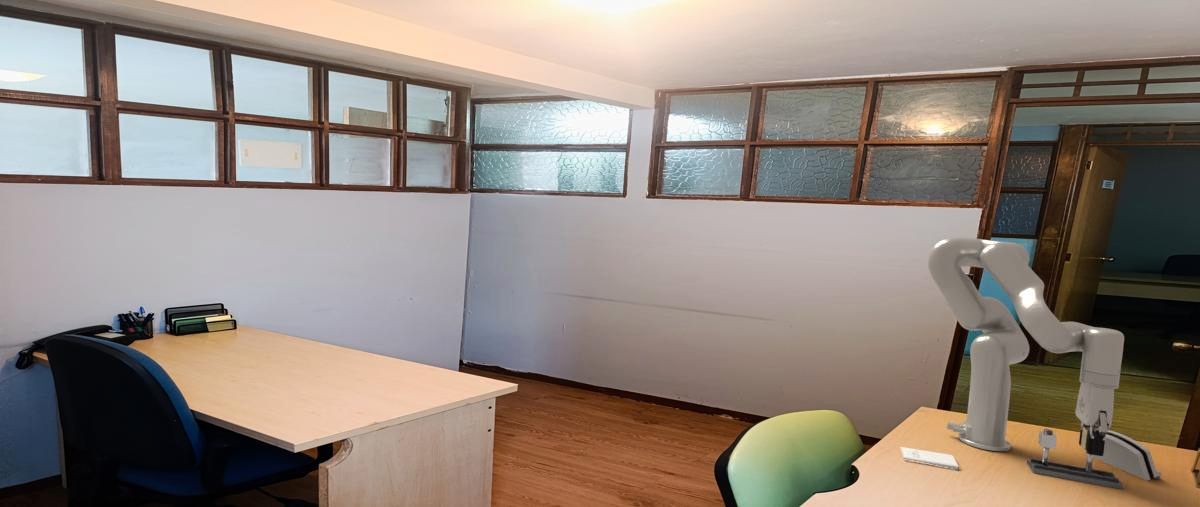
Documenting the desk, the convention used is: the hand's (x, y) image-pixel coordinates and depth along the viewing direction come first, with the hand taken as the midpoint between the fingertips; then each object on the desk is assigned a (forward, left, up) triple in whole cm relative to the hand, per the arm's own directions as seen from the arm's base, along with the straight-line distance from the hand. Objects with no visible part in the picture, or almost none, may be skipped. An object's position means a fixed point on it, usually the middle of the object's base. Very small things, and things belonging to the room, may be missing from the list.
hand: (1090, 449), depth 153 cm
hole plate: (-3, 0, -7) cm, 8 cm away
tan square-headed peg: (0, 0, -6) cm, 6 cm away
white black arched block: (+10, +14, -8) cm, 19 cm away
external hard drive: (-36, -8, -8) cm, 38 cm away
